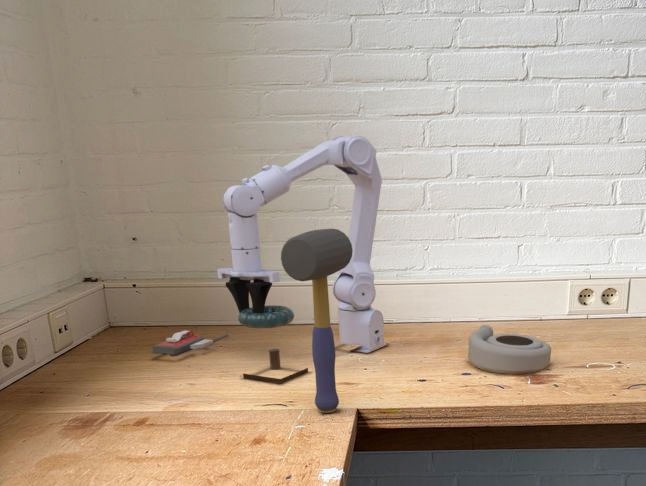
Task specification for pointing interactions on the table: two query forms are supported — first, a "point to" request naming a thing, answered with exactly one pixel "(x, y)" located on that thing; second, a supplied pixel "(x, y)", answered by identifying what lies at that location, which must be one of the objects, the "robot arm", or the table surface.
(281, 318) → the hang ring
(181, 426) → the table surface
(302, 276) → the rubber mallet
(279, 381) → the post
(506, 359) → the turbocharger housing
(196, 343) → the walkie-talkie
